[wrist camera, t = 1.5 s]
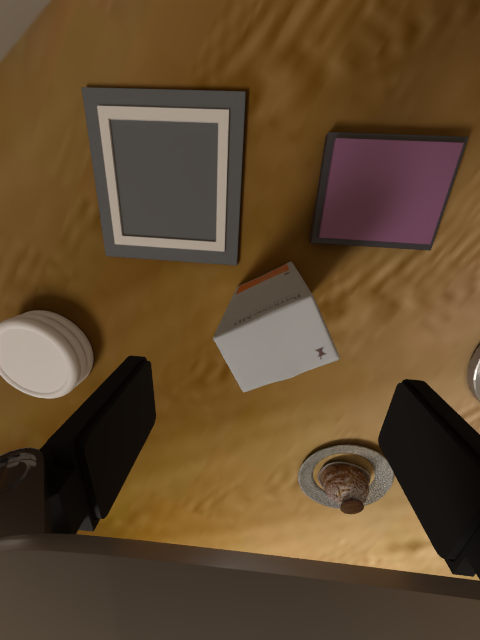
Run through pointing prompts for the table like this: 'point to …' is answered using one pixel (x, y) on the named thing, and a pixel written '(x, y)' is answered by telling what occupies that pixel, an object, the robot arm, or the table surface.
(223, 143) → the mat
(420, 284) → the table surface
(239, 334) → the skincare box
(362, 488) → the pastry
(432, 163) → the ink pad
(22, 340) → the white round disc
